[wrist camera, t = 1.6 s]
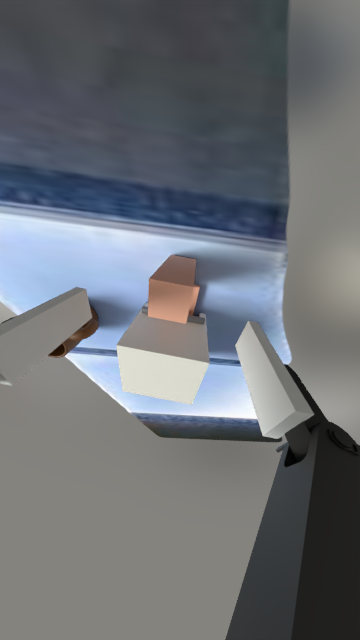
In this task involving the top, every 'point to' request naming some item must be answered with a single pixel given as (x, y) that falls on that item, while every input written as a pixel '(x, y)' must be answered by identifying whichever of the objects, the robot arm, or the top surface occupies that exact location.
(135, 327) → the off-white block
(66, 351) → the mug
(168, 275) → the orange l-shaped bracket
